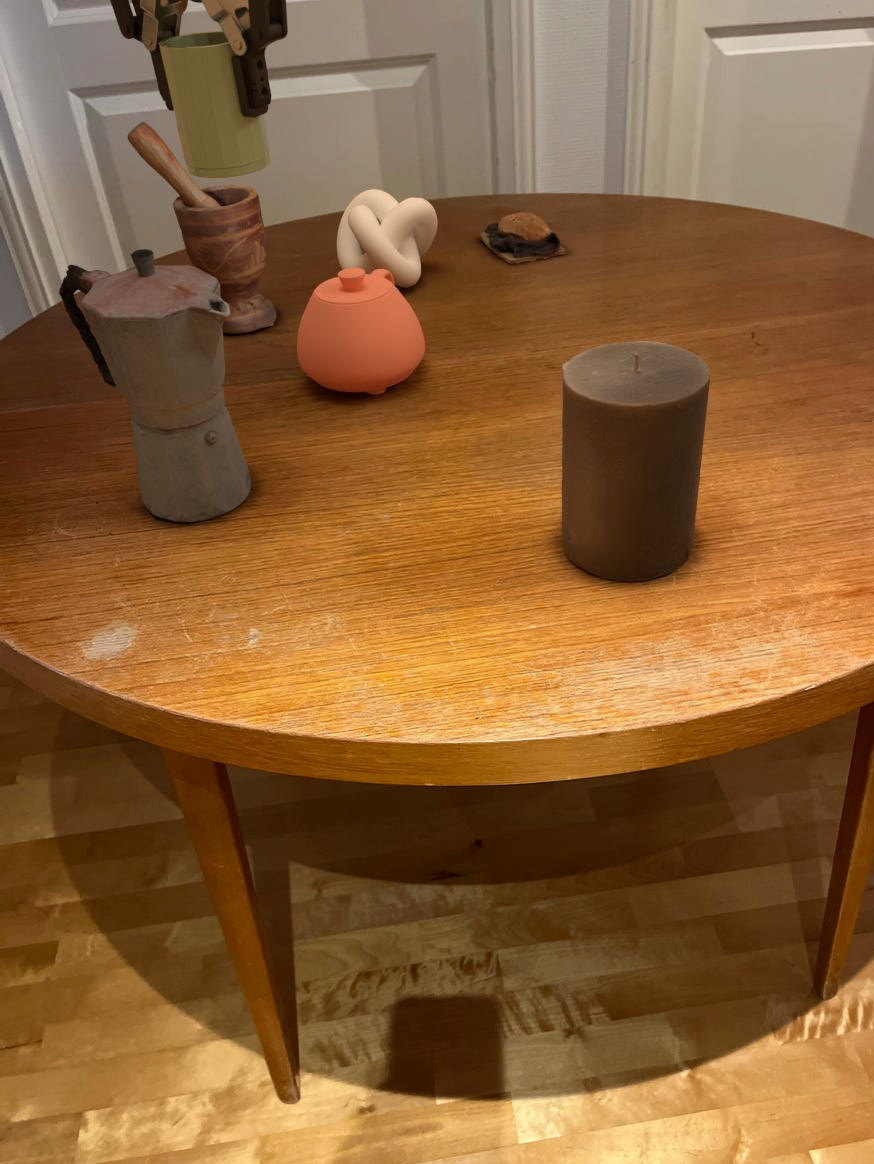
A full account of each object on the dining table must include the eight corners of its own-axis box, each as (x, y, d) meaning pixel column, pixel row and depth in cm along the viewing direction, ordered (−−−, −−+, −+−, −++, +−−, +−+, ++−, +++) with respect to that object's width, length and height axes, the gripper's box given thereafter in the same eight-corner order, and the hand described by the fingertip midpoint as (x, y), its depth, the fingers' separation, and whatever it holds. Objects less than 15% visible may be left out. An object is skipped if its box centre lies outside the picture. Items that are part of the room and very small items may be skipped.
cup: (170, 174, 70) (139, 46, 65) (221, 151, 74) (197, 29, 69) (237, 181, 68) (211, 49, 63) (286, 157, 72) (266, 32, 67)
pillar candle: (691, 587, 68) (714, 389, 58) (552, 577, 70) (552, 383, 60) (693, 510, 75) (714, 322, 66) (567, 503, 77) (569, 318, 67)
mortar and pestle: (173, 346, 103) (118, 140, 90) (176, 314, 110) (125, 118, 97) (283, 331, 105) (244, 127, 92) (279, 301, 111) (242, 106, 98)
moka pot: (244, 542, 75) (179, 283, 62) (80, 511, 80) (-13, 264, 67) (303, 478, 82) (255, 233, 69) (149, 453, 86) (77, 218, 73)
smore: (475, 239, 124) (473, 209, 122) (536, 228, 126) (536, 198, 124) (505, 266, 116) (504, 234, 114) (570, 254, 118) (570, 222, 116)
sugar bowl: (278, 395, 94) (258, 289, 87) (346, 336, 103) (332, 236, 97) (394, 412, 90) (381, 303, 83) (453, 349, 99) (446, 247, 93)
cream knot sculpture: (414, 251, 121) (407, 174, 116) (462, 280, 113) (458, 199, 108) (331, 273, 117) (319, 194, 111) (375, 304, 109) (365, 221, 104)
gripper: (20, -193, 58) (104, 118, 69) (212, -207, 53) (270, 132, 64) (108, -198, 63) (173, 94, 74) (291, -210, 58) (332, 105, 69)
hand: (218, 110), depth 69 cm, fingers closed on cup, 6 cm apart
